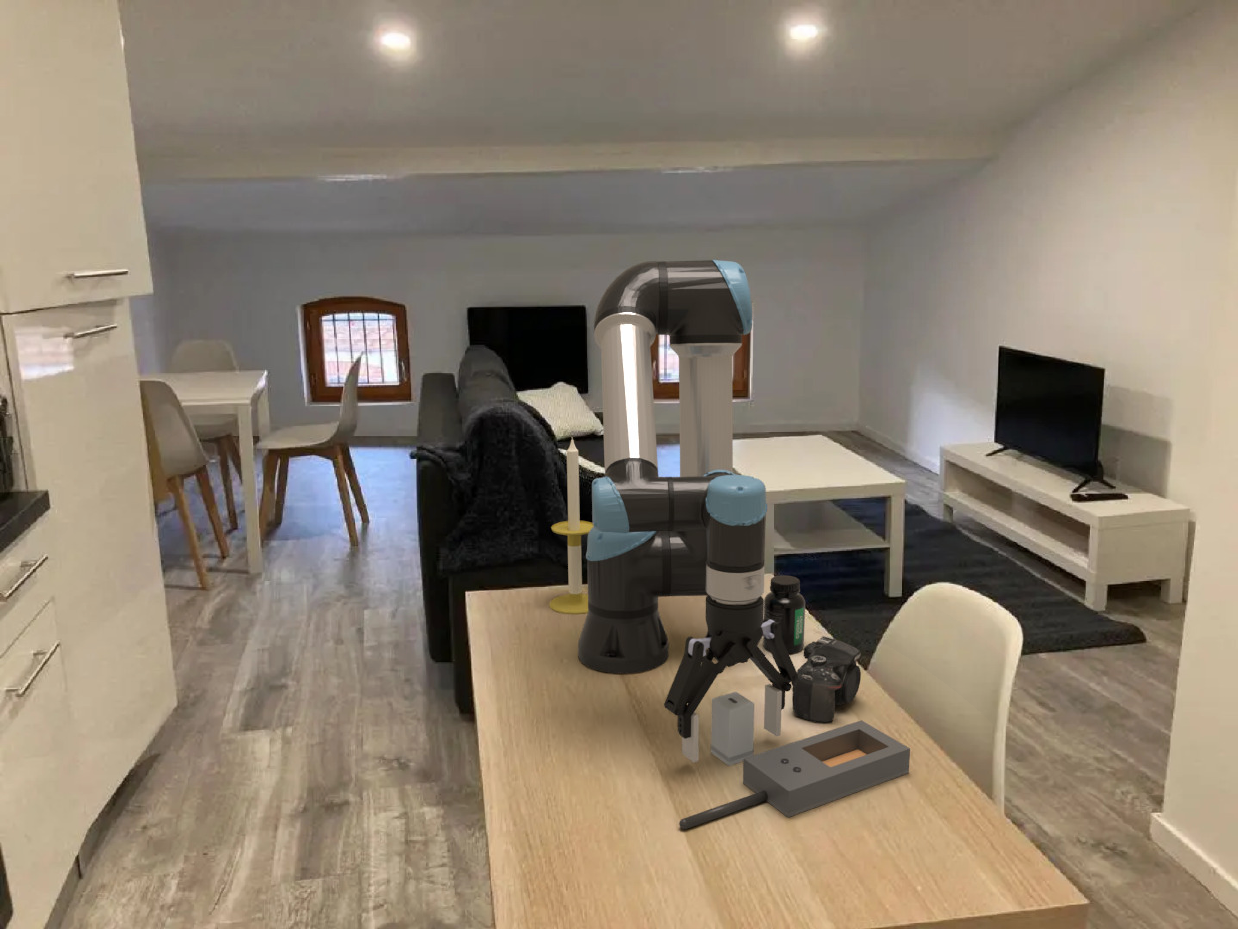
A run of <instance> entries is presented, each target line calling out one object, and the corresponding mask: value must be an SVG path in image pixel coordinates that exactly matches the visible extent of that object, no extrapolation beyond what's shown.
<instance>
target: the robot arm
mask: <svg viewBox="0 0 1238 929" xmlns="http://www.w3.org/2000/svg"><path fill="white" fill-rule="evenodd" d="M748 281H749V280H748V278H747V275H746V273H745V269H744V268H743V266H741V264H739V263H738V262H736V261H729V260H717V259H711V260H707V259H704V260H674V261H673V260H670V261H669V260H668V261H664V260H663V261H657V260H648V261H643V262H640V263H637V264H635V265H632V266H630V267H628V268H626V269H625V270H624V271H622V272H621V273H620V274H618V276H616V277H615V279H613V280H612V282H611V283H610V284H609V286H608V287H607V288H606V289H605V290H604V291H605V292H603V295H602V297H601V298H600V300H599V302H598V305H597V307H596V311H595V314H594V315H595V316H594V319H593V320H594V321H593V336H594V337H593V338H594V341H595V343H596V345H597V346H598V348H599V349H600V353H601V354H600V355H601V357H600V359H601V384H602V385H601V386H602V387H601V389H602V390H601V391H602V393H601V394H602V419H603V420H602V421H603V422H602V424H603V427H602V428H603V451H604V453H603V455H604V456H603V457H604V476H602V477H597V478H595V479H593V480H592V483H591V502H592V503H591V504H592V505H591V506H592V507H591V508H592V509H591V510H592V511H591V515H592V523H593V527H592V529H591V530H590V532H589V534H587V542H586V543H587V548H586V549H587V550H586V553H585V558H586V560H587V595H588V613H586V614H587V615H586V618H585V621H584V623H583V627H582V630H581V633H580V636H579V638H578V643H577V644H578V646H577V649H578V650H577V652H578V653H577V654H578V659H579V661H580V662H581V663H582V664H583V665H585V666H586V667H588V668H590V669H592V670H596V671H600V672H603V673H611V674H636V673H642V672H647V671H651V670H653V669H656V668H658V667H661V666H662V665H663V664H665V663H666V662H667V660H668V659H669V656H670V649H669V648H670V647H669V645H670V644H669V639H668V636H667V633H666V630H665V626H664V624H663V620H662V618H661V615H660V613H659V598H660V597H661V598H662V597H665V598H666V597H669V598H670V597H701V596H702V597H703V596H705V622H706V626H707V632H706V635H705V637H703V638H694V637H693V636H688V637H686V640H685V645H684V654H683V656H682V659H681V661H680V664H679V666H678V668H677V671H676V674H675V676H674V678H673V681H672V683H671V686H670V688H669V690H668V694H667V695H666V698H665V701H664V703H663V707H664V708H665V709H667V710H668V711H669V712H671V713H672V714H673V715H674V716H676V717H677V733H678V735H679V736H680V737H681V754H682V755H683V756H684V757H686V759H688V760H689V761H691V762H692V763H693V764H694V763H697V762H699V739H700V738H699V734H700V733H699V727H700V726H699V724H700V723H699V714H697V712H695V711H696V710H697V708H698V707H699V705H700V704H701V702H702V700H703V699H704V697H705V696H706V694H707V693H708V691H709V690H710V688H711V686H712V685H713V684H714V682H715V680H716V678H717V677H718V676H719V674H722V673H723V672H724V671H725V669H726V668H727V667H728V668H730V667H733V666H735V665H737V664H744V663H748V661H749V660H751V662H752V663H754V665H755V666H756V667H757V668H758V670H760V672H761V673H762V674H763V675H764V676H765V678H767V680H768V681H769V682H770V683H768V684H764V710H763V712H764V718H763V719H764V721H763V729H764V730H766V731H768V732H769V733H770V734H772V735H773V736H774V737H779V736H781V735H782V734H781V733H782V732H781V729H782V710H784V709H785V707H786V693H787V692H790V691H791V690H792V688H793V686H792V683H791V682H796V681H797V680H798V674H797V670H796V668H795V665H794V663H793V661H792V658H791V656H790V654H789V653H788V651H787V649H786V647H785V644H784V642H783V640H782V636H781V625H780V624H779V623H777V622H775V621H773V620H771V619H769V618H765V619H764V599H765V598H763V594H764V593H765V554H766V553H765V552H766V551H765V549H766V548H765V547H766V526H767V525H766V522H767V520H766V519H767V511H768V503H767V494H766V493H767V492H766V491H767V488H766V485H765V483H764V482H763V481H762V480H761V479H759V478H756V477H754V476H751V475H743V474H736V473H734V468H733V466H734V463H733V462H734V459H733V456H734V454H733V453H734V452H733V450H734V448H733V447H734V446H733V445H734V443H733V441H734V440H733V438H734V437H733V434H734V431H733V428H734V427H733V425H734V424H733V418H734V417H733V416H734V415H733V410H734V409H733V407H734V406H733V357H734V355H735V353H736V352H737V351H738V350H740V348H741V347H742V346H743V339H742V338H743V337H742V336H743V335H744V336H747V335H748V334H749V333H751V332H752V330H753V329H752V327H753V305H752V297H751V296H752V295H751V290H750V286H749V285H750V284H749V282H748ZM656 336H669V347H670V349H671V350H672V351H673V352H674V353H675V354H676V355H677V356H678V359H679V360H678V375H679V376H678V378H679V379H678V380H679V381H678V382H679V384H678V386H679V388H678V389H679V398H678V399H679V401H678V402H679V476H660V475H659V467H658V466H659V465H658V463H659V462H658V450H657V449H658V448H657V432H656V431H657V430H656V419H655V416H656V415H655V403H654V402H655V401H654V388H653V386H654V385H653V383H654V382H653V373H652V372H653V371H652V370H653V369H652V356H651V355H652V354H651V347H652V345H653V344H654V342H655V340H656ZM763 636H764V638H765V641H766V643H767V645H768V647H769V649H770V651H769V652H770V654H771V656H772V659H773V660H774V663H775V665H776V667H777V668H776V667H775V666H774V665H773V663H771V661H770V660H769V658H767V657H766V654H765V653H764V652H763V651H762V650H761V648H760V647H759V646H758V645H759V643H760V642H761V640H762V639H763ZM714 659H715V661H717V662H716V663H715V662H713V660H714Z"/></svg>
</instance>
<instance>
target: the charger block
mask: <svg viewBox="0 0 1238 929" xmlns="http://www.w3.org/2000/svg"><path fill="white" fill-rule="evenodd" d="M754 719H755V702H754V701H752V700H750V699H748V698H746V697H745V696H744V695H743V694H740V693H739V692H738V691H734V692H730V693H727V694H723V695H720V696H716V697H712V698H711V733H710V734H711V739H710V740H711V742H710V743H711V744H710V752H711V754H712V755H713V756H715V757H716V758H718V759H719V760H720V761H722V762H723V763H724V764H726V766H728V767H729V766H732V765H736V764H739V763H741V762H744V758H747V757H750V756H753V755H755V754H754V753H755V752H754V731H755V730H754V729H755V728H754V725H755V724H754V723H755V721H754Z"/></svg>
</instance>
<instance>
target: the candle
mask: <svg viewBox="0 0 1238 929" xmlns="http://www.w3.org/2000/svg"><path fill="white" fill-rule="evenodd" d="M579 460H580V459H579V449H577V447H576V445H575V440H574V438H573V437H571V440H570V443H569V447H568V449H567V450H566V472H567V473H566V479H567V520H565V521H560V522H557V523H554V524H552V526H551V527H550V528H551V531H552V532H553V533H555V534H557V535H561V536H562V535H563V536H567V564H568V565H567V566H568V567H567V568H568V569H567V572H568V574H567V575H568V594H564V595H559V596H557V597H555V598H553V599H551V600H550V602H549V608H550V609H551V610H552V611H554V612H556V613H560V614H563V615H564V614H565V615H582V614H588V593H587V594H585V593H583V576H582V575H583V574H582V573H583V571H582V536H584V535H588V534H589V532H590V530H591V529H592V527H593V522H590V521H586V520H580V518H581V517H580V513H581V512H580V477H579V476H580V473H579V472H580V469H579V468H580V466H579V463H580V462H579Z"/></svg>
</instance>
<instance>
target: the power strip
mask: <svg viewBox="0 0 1238 929" xmlns="http://www.w3.org/2000/svg"><path fill="white" fill-rule="evenodd" d="M910 757H911V748H910V747H909V746H907V745H905V744H904V743H902V742H900V741H898V740H896V739H894V738H893V737H891V736H889V735H887V734H886V733H884V732H882V731H881V730H880V729H877V728H876V727H874V726H872V725H870V724H869V723H867V722H865V721H863V720H857V721H855V722H852V723H849V724H845V725H843V726H840V727H837V728H836V727H835V728H832V729H830V730H827V731H824V732H821V733H818V734H815V735H812V736H811V735H810V736H809V737H806V738H802V739H799V740H796V741H793V742H789V743H787V744H784V745H781V746H778V747H775V748H772V749H769V750H766V751H762V752H759V753H757V754H756V753H755V754H753V756H750V757H747V758H744V761H743V765H742V768H743V774H742V783H743V785H745V786H746V787H747V788H748V789H750V790H751V791H752V792H754V793H753V794H750V795H747V796H744V797H742V798H738V799H736V800H733V801H732V800H731V801H730V802H727V803H724V804H721V805H718V806H716V807H712V808H710V809H707V810H704V811H701V812H697V813H696V814H692V815H689V816H686V817H684V818H683V817H682V818H681V819H680V820H679V823H678V826H679V827H680V829H682V830H687V829H691V828H693V827H695V826H698V825H701V824H704V823H707V822H709V821H710V822H711V821H712V820H715V819H716V820H717V819H718V818H721V817H724V816H727V815H729V814H733V813H735V812H738V811H741V810H743V809H747V808H749V807H752V806H754V805H758V804H761V803H763V802H767V803H768V804H770V805H771V806H772V807H774V808H775V809H776V810H777V811H779V812H781V813H782V814H783V815H784V816H785V817H787V818H790V817H793V816H795V815H799V814H801V813H804V812H806V811H810V810H812V809H814V808H818V807H821V806H823V805H825V804H828V803H831V802H835V801H836V800H840V799H842V798H845V797H849V796H850V795H852V794H856V793H857V792H861V791H864V790H866V789H870V788H872V787H874V786H877V785H880V784H883V783H886V782H888V781H891V780H893V779H896V778H899V777H902V776H905V775H908V774H909V772H910Z"/></svg>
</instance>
